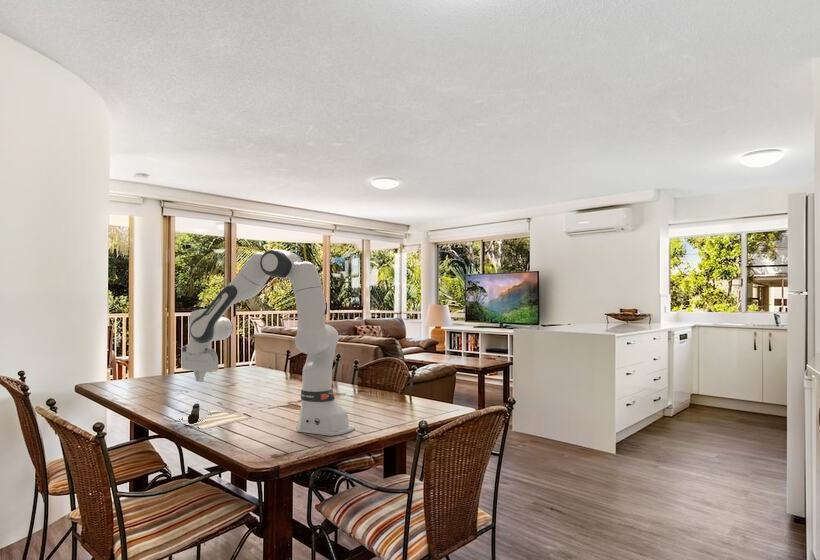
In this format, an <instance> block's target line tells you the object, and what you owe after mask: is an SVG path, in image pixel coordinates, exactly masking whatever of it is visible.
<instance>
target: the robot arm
mask: <svg viewBox="0 0 820 560" xmlns="http://www.w3.org/2000/svg"><path fill="white" fill-rule="evenodd" d="M270 277H272V278H279V279H288V280H289V281H290V282H291V285H292V290H293V295H294V300H295V305H296V306H295V307H296V313H297V330H296V332H297V333H296V334H295V337H294V344H295V347H296V349H297V350H298V351H299V352H301V353H302V354H306V360H305V363H304V365H303V368H302V377H301V378H302V379H301V381H302V384H301V385H302V386H301V387H302V388H301V389H300V400H301V404H300V410H299V418H298V421H297V422H298V423H297V426H296V432H297V433H298V432H299V433H306V434H314V435H315V434H316V435H323V436H328V437H329V436H333V437H334V436H339V435H344V434H346V433H347V434H348V433H350V432H352V431H354V430H355V429H356V426H355V425H353V424H350V422H349V414H348V412H347V410H346V409H344V408H343V407H342V405H340V403H338V402H337V401H336V397H335V396H337V392H335V391H333V388H332V380H333V377H332V376H333V374H332V373H333V365H334V364H333V363H334V359H335V354H336V349H337V348H336V347H337V344H338V342H339V337H340V335H339V332H338V330H337V329H336V328H335V327H334V326H332V325H331V324H328V323H327V324H326V321H325V319H326V317H325V314H326V309H327V304H326V300H325V299H326V298H325V295H324V289H323V285H322V281H321V277H320V275H319V272H318V269H317V267H316V265H315V264H314V263H312V262H310V261H305V259H304V258H303V256H301V255H299V254H298V253H296V252H291V251H289V250H286V249H276V248H275V249H269V250H266V251H265V252H255V253H253V254H252V255H251V256H250V257H249V258H248V259H247V261H246V262H245V263H244V264H243V265H242V267H241V269H240V270H239V271H238V272H237V274H236V276H234V278H233V279H232V280H231V281H230V282H229V283H228V284H227V285H226V286H225V287H223V289H222V290H221V291H220V292H219V293H218V294H217V295H216V297H214V299H213V300H212V301H211V302H210V304H209V306H207V308H199V309H195V310H192V311H191V313H190V315H189V320H188V333H189V338H188V343H187V344H186V345H184V346H182V347H181V349H180V350H181V352H182V353H181V367H182V369H183V370H185V371H193V374H194V377H195V382H197V383H203V382H204V381H205V380H204V379H205V375H206V374H207V373H214V372H218V370H219V358H218V355H217V354H218V353H217V351H216V350H215V348H212V346H213V345H212V344H213V342H215V341H222V340H224V341H225V340H226V339H229V338H230V337H231V336H232V334H233V331H234V326H233V323H232V321H231V319H230V318H228V317H225V316H223V315H225V313H226V312H227V311H228V309H229V308H230V307H232V306H233V305H235V304H237V303H240V302H243V301H247V300H250V299H253V298H254V297H256V296H257V295H258V294H259V293H260V292H261V291H262V289H263V288H264V286H265V285H266V284H267V281H268V280H269V278H270Z"/></svg>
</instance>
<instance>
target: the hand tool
mask: <svg viewBox="0 0 820 560" xmlns="http://www.w3.org/2000/svg"><path fill="white" fill-rule="evenodd" d="M200 407H201V406H200V404H199V403H197V402H196V403H194V404H193V405H192V409H191V412H190V413H191V414H190V415H189V416H188V423H189V424H194V423H197V422H198V421H199V420H198V419H199V411H201V409H200Z"/></svg>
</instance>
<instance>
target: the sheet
mask: <svg viewBox="0 0 820 560" xmlns="http://www.w3.org/2000/svg"><path fill="white" fill-rule="evenodd" d="M207 410H209V411H210V412H211V413H210V414H209V413H207V414H208V415H209V416H207V417H206V418H205V420H203V418H202V417H201V421H202V420H203V421H202V422H201V421H200V420H199V421H200V423H199V424H198V425H199V426H198V425H197V426H198V427H199V428H200V430H203V429H204V430H208V429H212V428H215V427H216V426H217V427H220V425H221V426H224V425H229V423H230V424H234V423H238V422H241V421H246V420H250V419H252V417H248V416H243V415H241V414H240V415H239V414H235V413H229V412H224V411H219V410H214V409H207ZM209 411H208V412H209ZM210 415H212V416H210ZM179 420H180V419H179ZM181 420H182V421H183V417H182V419H181ZM182 421H181V424H180V425H183V424H184V423H182ZM205 421H206V422H205ZM217 427H216V428H217ZM199 428H198V429H199ZM207 428H208V429H207Z"/></svg>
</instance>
